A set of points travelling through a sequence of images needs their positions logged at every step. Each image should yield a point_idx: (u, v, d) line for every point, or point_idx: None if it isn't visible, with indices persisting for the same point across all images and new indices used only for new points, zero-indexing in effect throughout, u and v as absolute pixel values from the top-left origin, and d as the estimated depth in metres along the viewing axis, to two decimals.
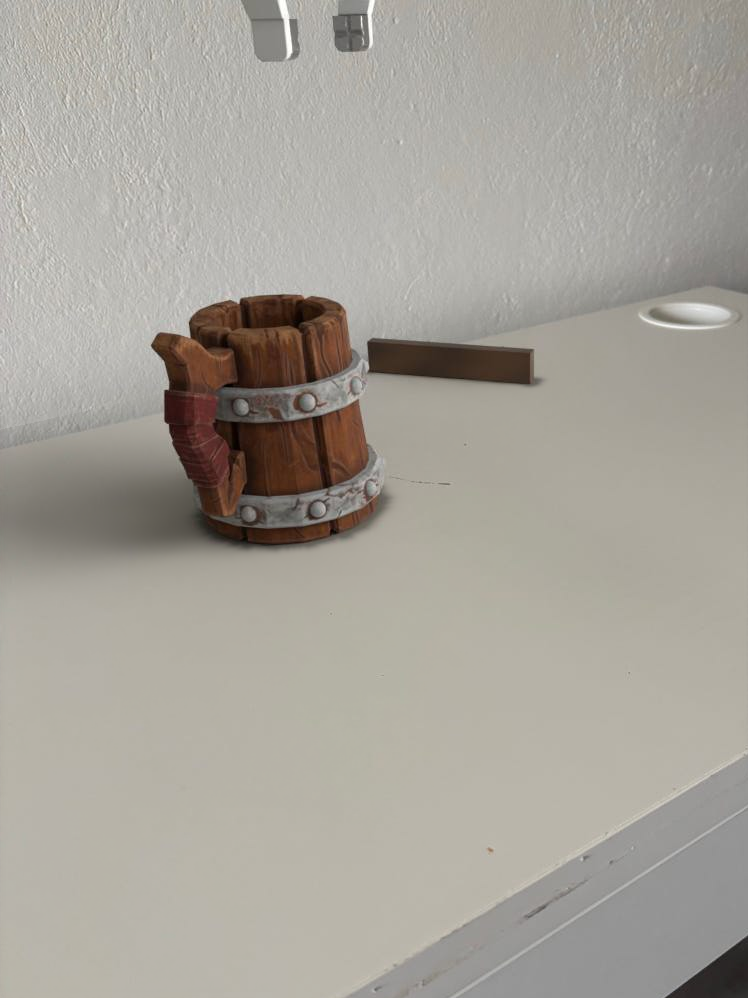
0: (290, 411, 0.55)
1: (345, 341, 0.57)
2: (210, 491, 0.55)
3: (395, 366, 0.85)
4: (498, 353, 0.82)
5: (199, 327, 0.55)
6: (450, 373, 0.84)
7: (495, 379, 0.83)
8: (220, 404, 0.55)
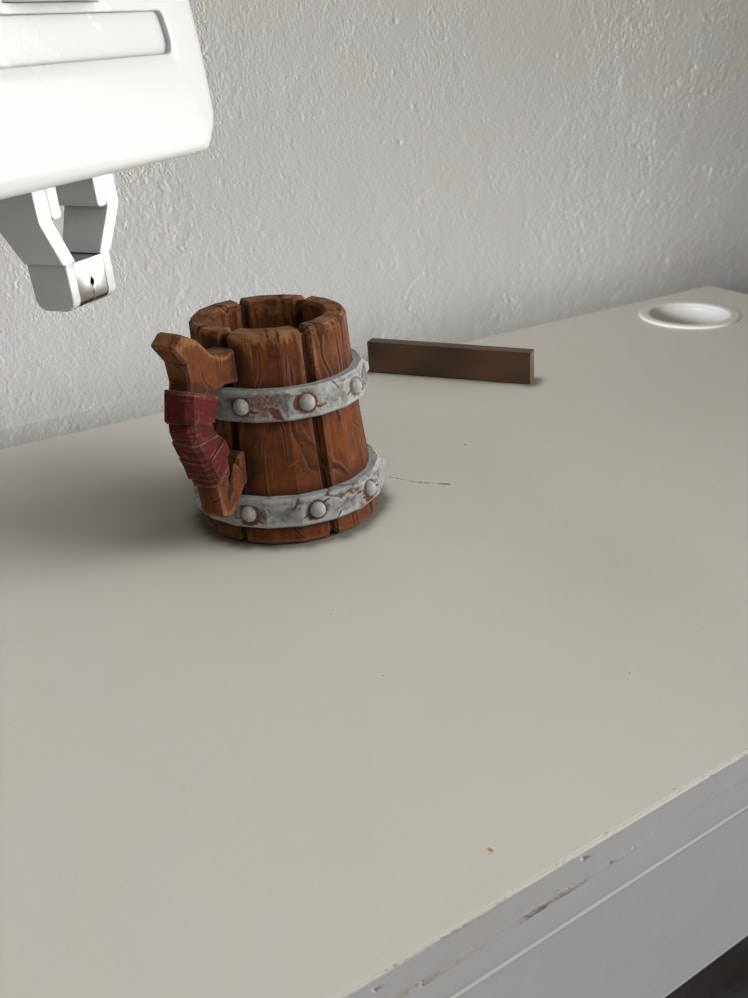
0: (290, 411, 0.55)
1: (345, 341, 0.57)
2: (210, 491, 0.55)
3: (395, 366, 0.85)
4: (498, 353, 0.82)
5: (199, 327, 0.55)
6: (450, 373, 0.84)
7: (495, 379, 0.83)
8: (220, 404, 0.55)
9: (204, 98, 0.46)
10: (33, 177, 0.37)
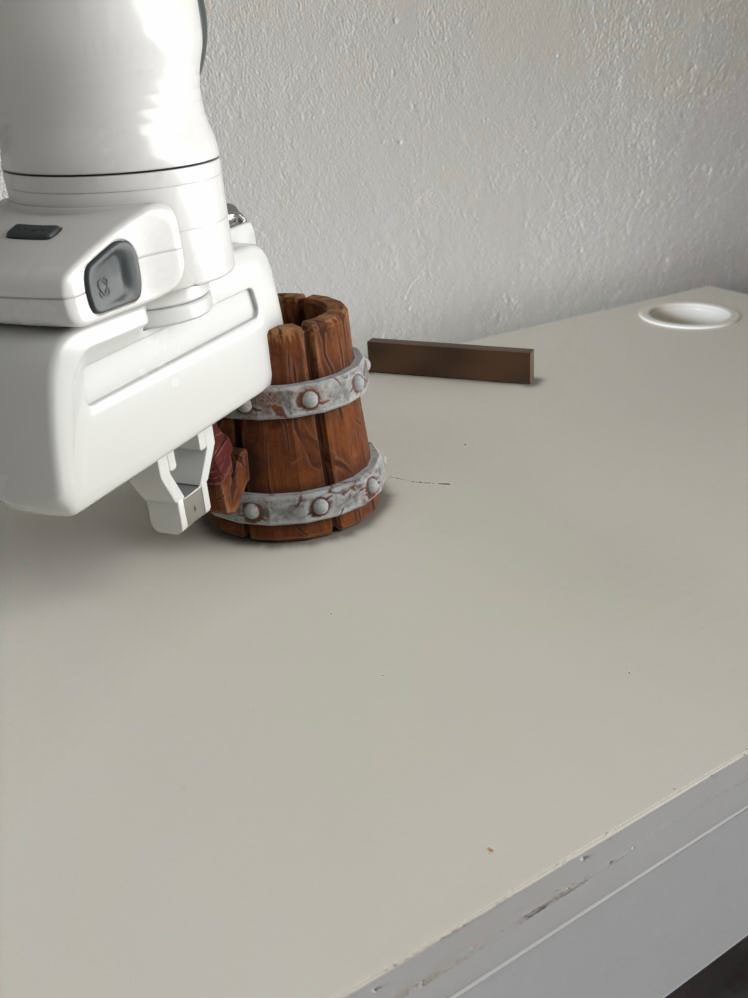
0: (293, 408, 0.55)
1: (347, 339, 0.57)
2: (213, 488, 0.55)
3: (395, 366, 0.85)
4: (498, 353, 0.82)
5: None
6: (450, 373, 0.84)
7: (495, 379, 0.83)
8: None
9: None
10: (160, 451, 0.46)
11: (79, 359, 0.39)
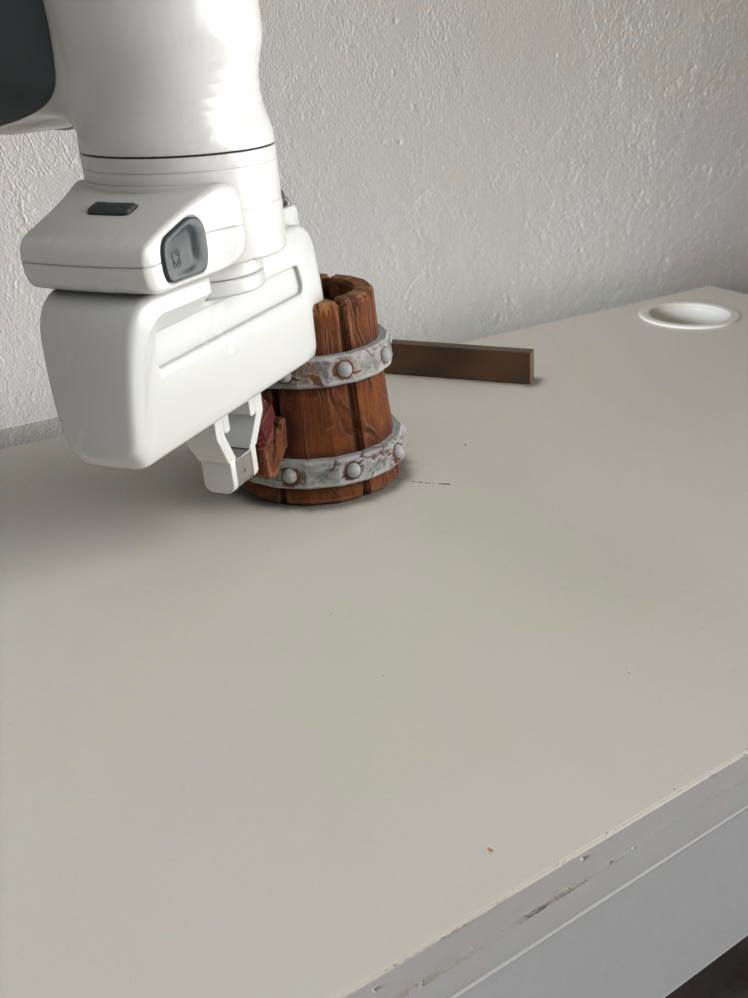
0: (329, 378, 0.60)
1: (374, 314, 0.62)
2: (257, 454, 0.59)
3: (395, 366, 0.85)
4: (498, 353, 0.82)
5: None
6: (450, 373, 0.84)
7: (495, 379, 0.83)
8: None
9: None
10: (217, 413, 0.51)
11: (153, 324, 0.44)
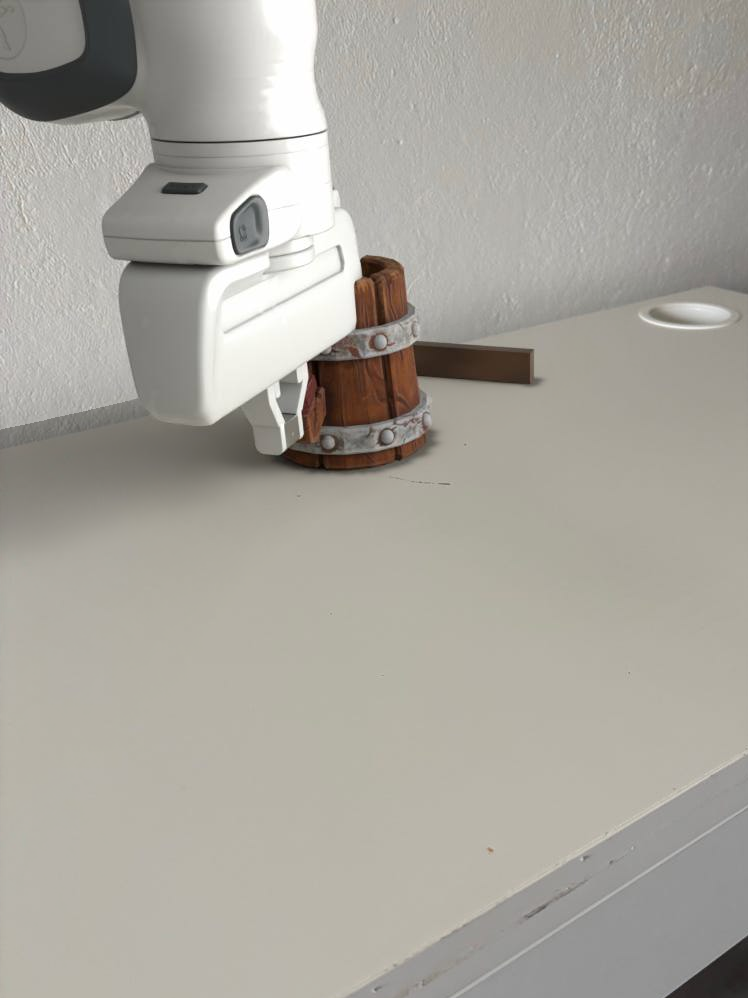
0: (366, 349, 0.64)
1: (405, 291, 0.67)
2: None
3: None
4: (498, 353, 0.82)
5: None
6: (450, 373, 0.84)
7: (495, 379, 0.83)
8: None
9: None
10: (271, 378, 0.55)
11: (222, 292, 0.48)
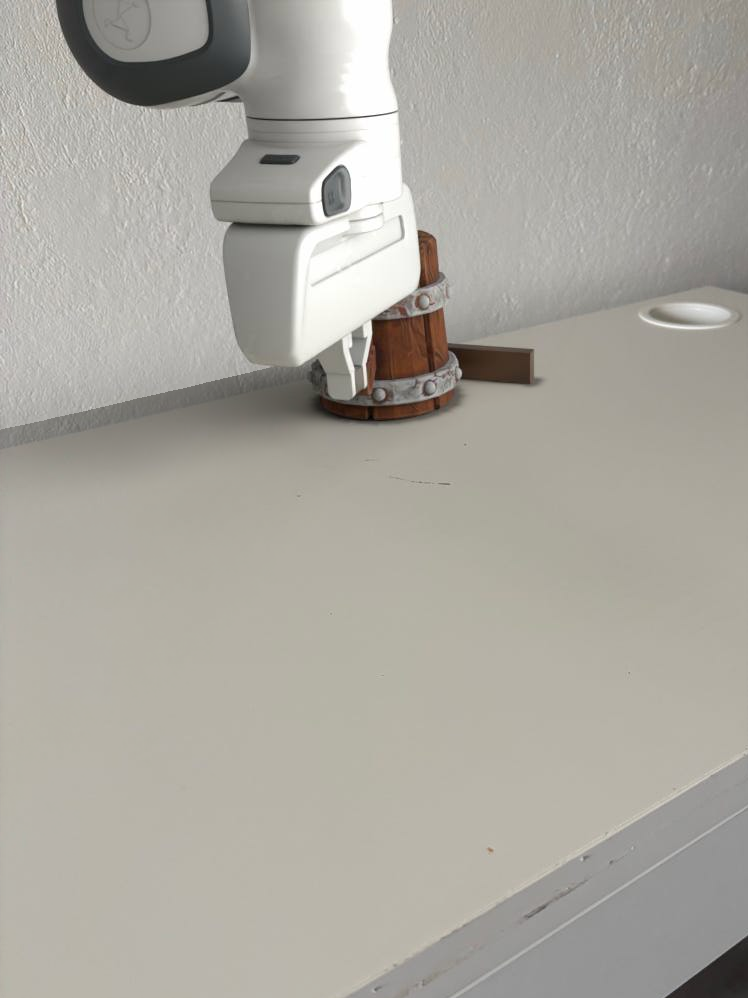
0: (412, 309, 0.72)
1: (437, 257, 0.75)
2: None
3: None
4: (498, 353, 0.82)
5: None
6: None
7: (495, 379, 0.83)
8: None
9: (417, 260, 0.72)
10: (346, 329, 0.63)
11: (312, 249, 0.56)
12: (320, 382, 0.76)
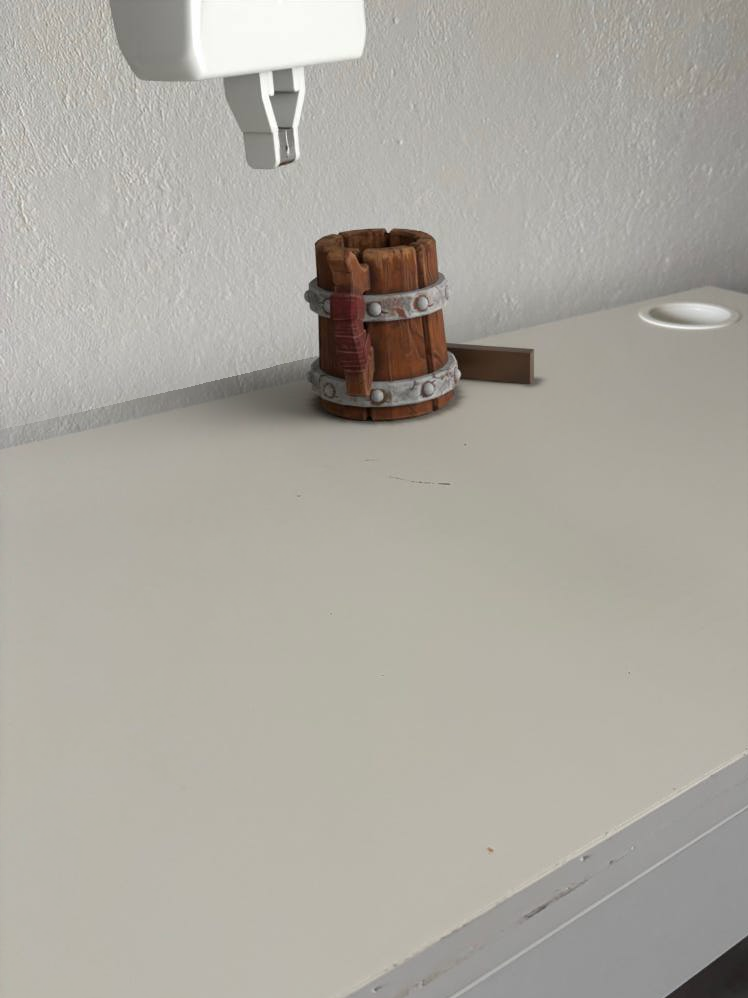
0: (411, 310, 0.72)
1: (436, 258, 0.75)
2: (357, 375, 0.72)
3: None
4: (498, 353, 0.82)
5: None
6: None
7: (495, 379, 0.83)
8: None
9: (362, 17, 0.59)
10: (265, 60, 0.51)
11: None
12: (319, 383, 0.76)
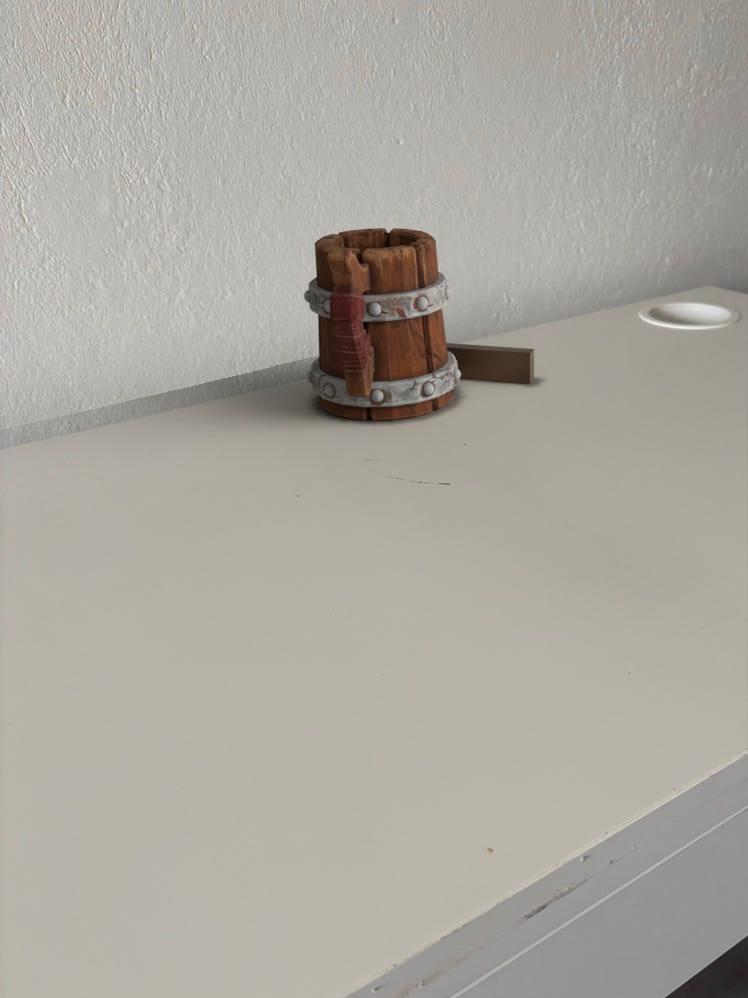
0: (411, 310, 0.72)
1: (436, 258, 0.75)
2: (357, 375, 0.72)
3: None
4: (498, 353, 0.82)
5: None
6: None
7: (495, 379, 0.83)
8: None
9: None
10: None
11: None
12: (319, 383, 0.76)
